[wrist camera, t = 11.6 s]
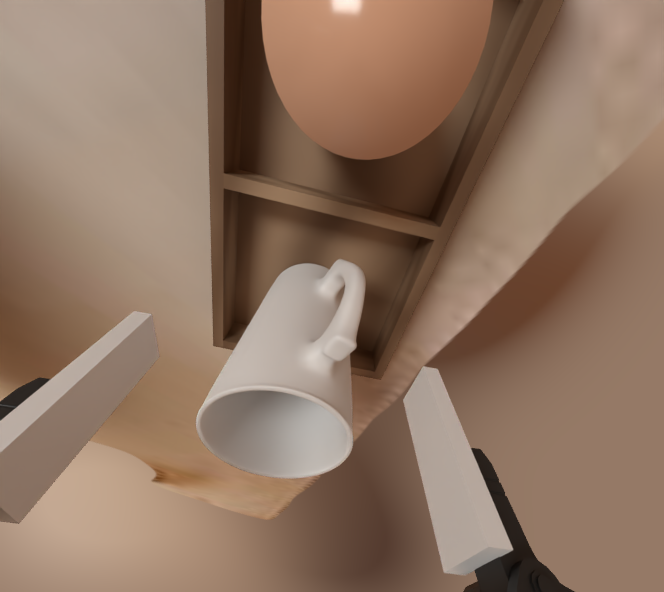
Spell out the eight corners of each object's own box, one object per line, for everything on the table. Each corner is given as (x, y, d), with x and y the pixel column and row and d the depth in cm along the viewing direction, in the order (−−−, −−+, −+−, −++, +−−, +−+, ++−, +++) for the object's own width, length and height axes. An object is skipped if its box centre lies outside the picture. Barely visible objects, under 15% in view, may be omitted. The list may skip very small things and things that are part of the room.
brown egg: (290, 137, 15) (254, 133, 9) (311, -35, 12) (273, -218, 6) (400, 166, 16) (431, 180, 10) (451, 9, 12) (549, -117, 6)
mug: (322, 340, 24) (302, 492, 13) (256, 305, 22) (176, 447, 12) (393, 256, 19) (448, 388, 9) (317, 204, 17) (274, 290, 7)
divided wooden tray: (228, 323, 24) (213, 346, 21) (236, -174, 10) (198, -284, 8) (377, 354, 25) (380, 379, 22) (560, -63, 11) (624, -125, 9)
